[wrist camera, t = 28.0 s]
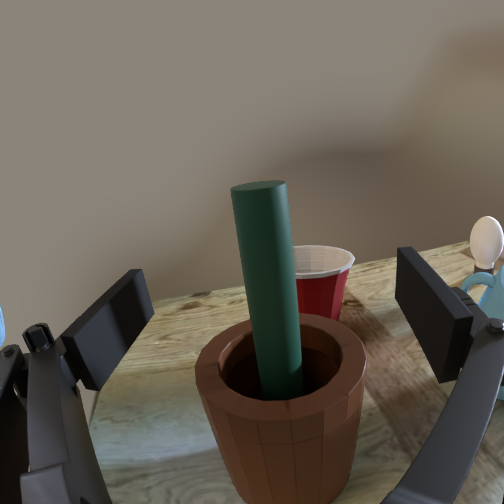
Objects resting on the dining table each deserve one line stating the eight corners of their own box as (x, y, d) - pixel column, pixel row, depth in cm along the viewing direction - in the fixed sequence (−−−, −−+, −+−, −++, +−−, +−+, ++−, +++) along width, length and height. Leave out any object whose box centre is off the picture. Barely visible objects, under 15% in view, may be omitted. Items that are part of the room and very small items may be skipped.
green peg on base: (261, 484, 20) (199, 199, 13) (266, 444, 24) (222, 183, 17) (316, 483, 19) (307, 187, 12) (316, 443, 24) (304, 174, 16)
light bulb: (498, 271, 46) (504, 214, 43) (498, 286, 42) (507, 224, 38) (467, 266, 51) (472, 210, 47) (464, 280, 46) (470, 219, 42)
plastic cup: (365, 328, 40) (367, 243, 36) (331, 378, 32) (331, 281, 28) (296, 313, 47) (289, 236, 43) (252, 354, 39) (238, 266, 35)
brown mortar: (223, 513, 18) (173, 416, 14) (241, 426, 28) (215, 316, 23) (353, 512, 17) (380, 412, 12) (346, 422, 26) (352, 307, 22)
